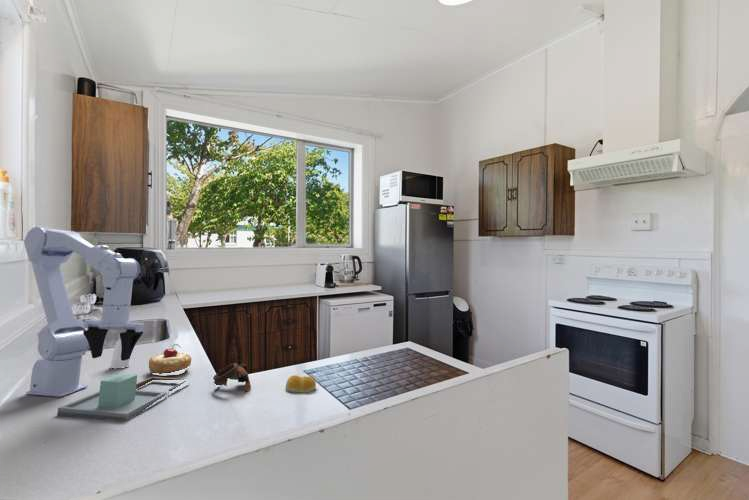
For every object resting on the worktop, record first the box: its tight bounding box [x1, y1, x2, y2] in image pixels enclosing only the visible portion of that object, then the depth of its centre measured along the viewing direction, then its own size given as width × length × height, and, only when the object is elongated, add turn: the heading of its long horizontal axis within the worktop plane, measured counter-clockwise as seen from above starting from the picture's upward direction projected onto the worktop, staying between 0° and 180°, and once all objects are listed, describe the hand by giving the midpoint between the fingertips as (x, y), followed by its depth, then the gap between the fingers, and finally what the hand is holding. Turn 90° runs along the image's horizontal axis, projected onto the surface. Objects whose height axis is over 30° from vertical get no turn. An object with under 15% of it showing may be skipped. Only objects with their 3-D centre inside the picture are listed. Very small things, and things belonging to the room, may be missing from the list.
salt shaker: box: [109, 332, 131, 370], centre depth 115 cm, size 5×5×11 cm
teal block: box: [98, 373, 138, 408], centre depth 85 cm, size 4×6×6 cm
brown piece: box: [213, 362, 252, 393], centre depth 103 cm, size 12×10×8 cm
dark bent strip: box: [136, 376, 186, 392], centre depth 99 cm, size 11×9×2 cm
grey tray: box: [57, 389, 168, 422], centre depth 85 cm, size 16×14×2 cm
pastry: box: [148, 343, 192, 374], centre depth 113 cm, size 12×12×9 cm
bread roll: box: [285, 374, 317, 394], centre depth 106 cm, size 8×9×4 cm
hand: (111, 358), depth 89 cm, fingers open, 7 cm apart
